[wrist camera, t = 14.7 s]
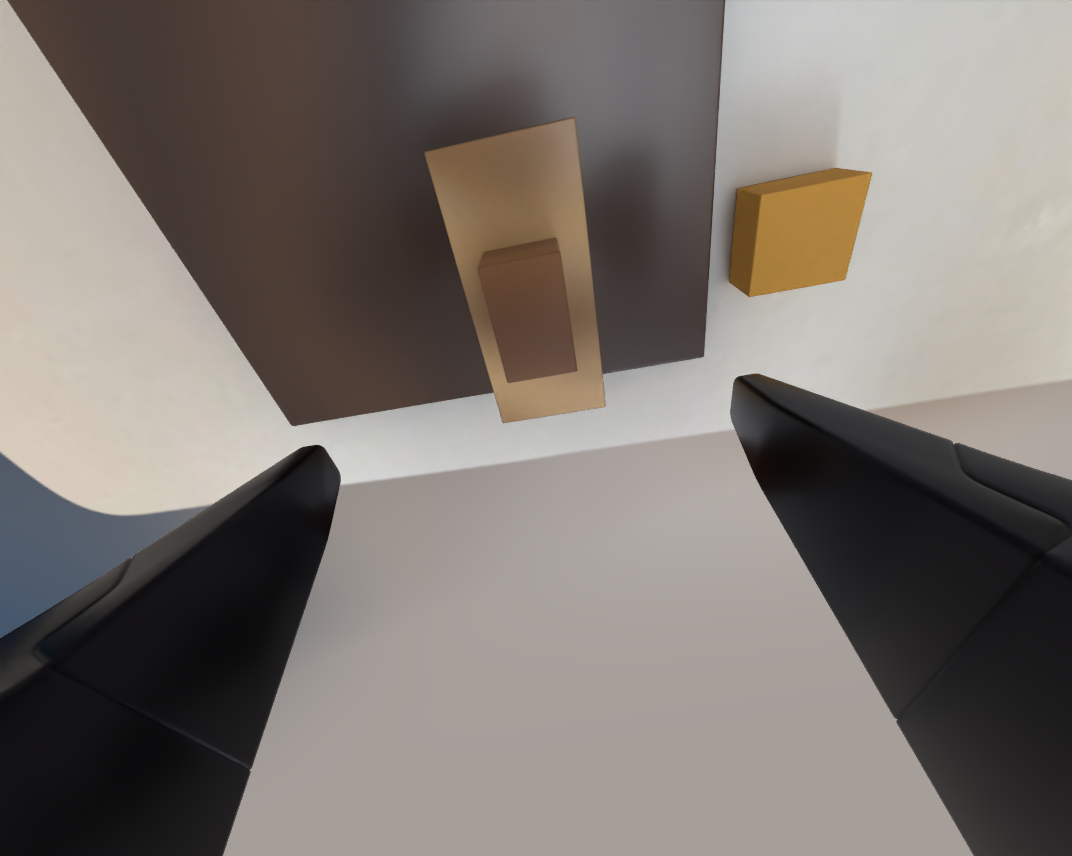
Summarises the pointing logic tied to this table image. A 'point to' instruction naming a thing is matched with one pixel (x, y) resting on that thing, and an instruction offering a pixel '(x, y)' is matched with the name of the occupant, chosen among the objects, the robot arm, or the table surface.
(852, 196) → the mustard orange square block
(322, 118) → the board
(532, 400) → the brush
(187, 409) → the table surface
